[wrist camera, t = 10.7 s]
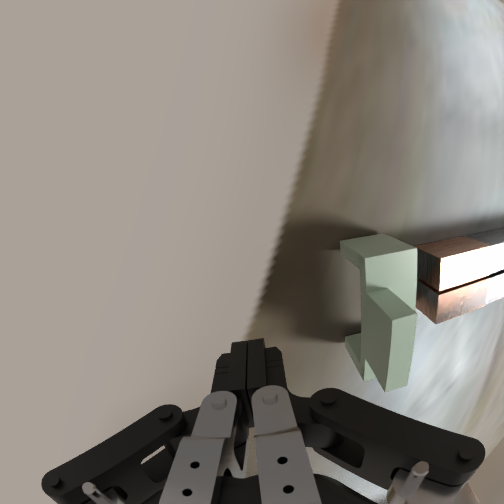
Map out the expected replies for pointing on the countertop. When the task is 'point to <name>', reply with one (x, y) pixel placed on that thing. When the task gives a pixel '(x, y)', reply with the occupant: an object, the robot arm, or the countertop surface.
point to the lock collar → (384, 308)
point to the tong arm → (458, 297)
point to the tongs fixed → (460, 259)
